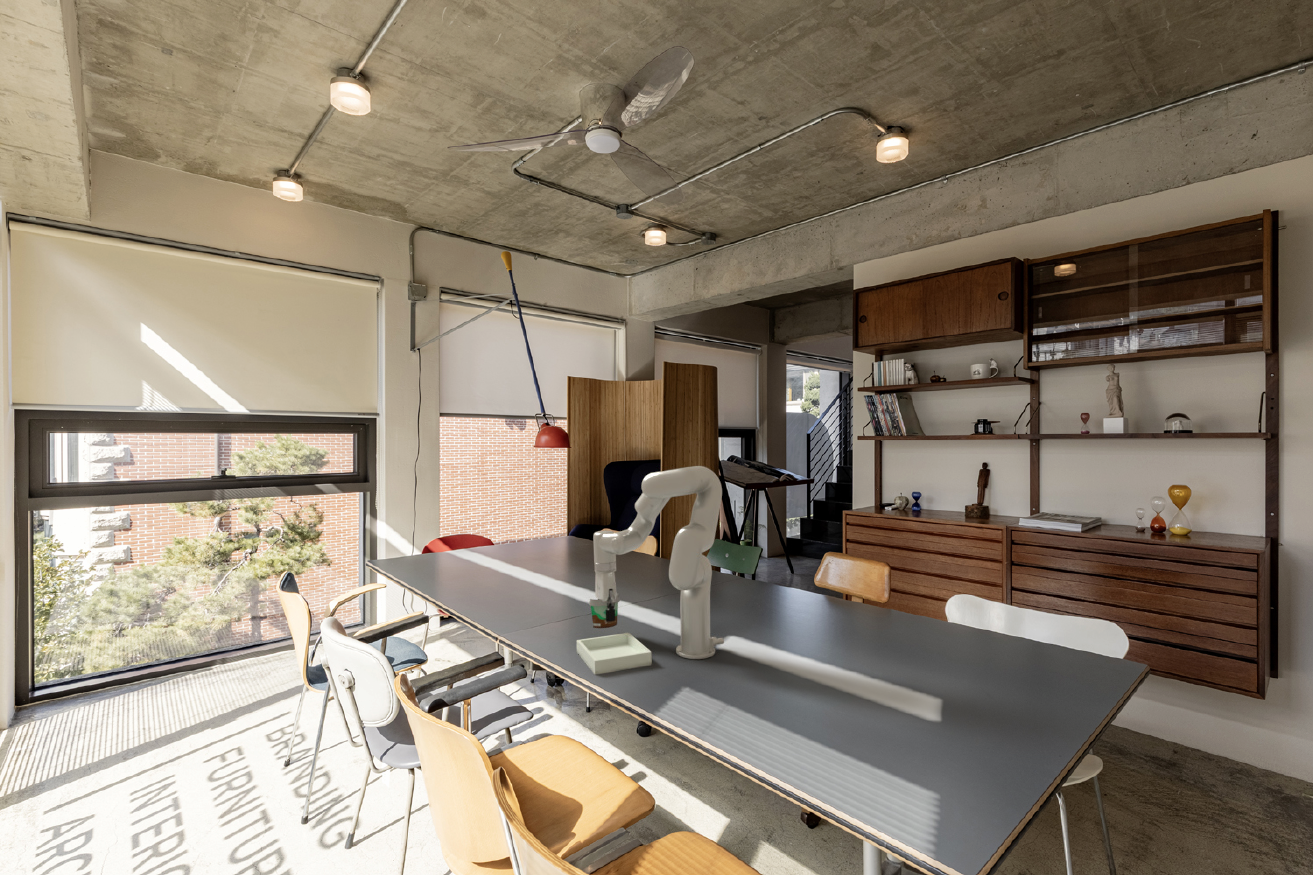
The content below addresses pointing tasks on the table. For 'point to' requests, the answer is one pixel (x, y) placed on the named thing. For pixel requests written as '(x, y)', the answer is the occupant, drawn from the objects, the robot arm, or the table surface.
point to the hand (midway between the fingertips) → (607, 618)
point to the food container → (602, 613)
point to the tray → (613, 653)
